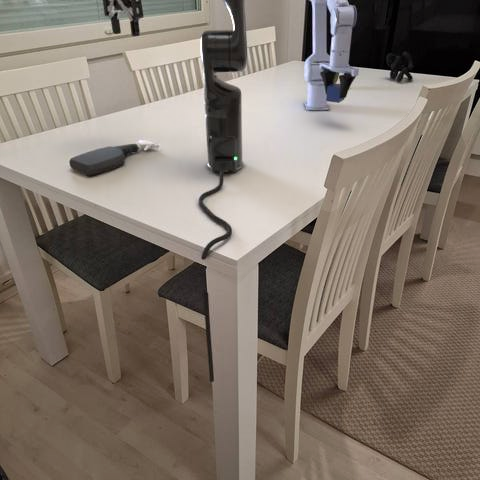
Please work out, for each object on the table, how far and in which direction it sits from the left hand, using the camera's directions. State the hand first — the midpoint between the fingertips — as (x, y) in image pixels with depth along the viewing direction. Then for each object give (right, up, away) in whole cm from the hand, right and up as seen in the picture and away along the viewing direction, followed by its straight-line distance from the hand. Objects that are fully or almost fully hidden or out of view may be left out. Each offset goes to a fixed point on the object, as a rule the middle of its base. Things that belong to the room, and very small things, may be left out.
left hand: (126, 34), depth 124 cm
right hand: (+63, -11, +19) cm, 66 cm away
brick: (+63, -12, +20) cm, 67 cm away
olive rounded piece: (+70, +8, +66) cm, 97 cm away
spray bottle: (-3, -35, +1) cm, 35 cm away
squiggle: (+104, +15, +76) cm, 130 cm away
